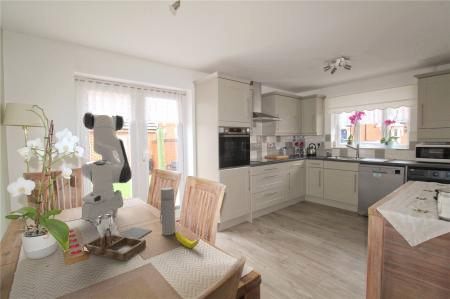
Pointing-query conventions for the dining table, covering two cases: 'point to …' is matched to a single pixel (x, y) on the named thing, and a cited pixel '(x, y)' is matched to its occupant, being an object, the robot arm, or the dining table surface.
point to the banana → (186, 241)
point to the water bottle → (167, 211)
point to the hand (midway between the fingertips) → (105, 222)
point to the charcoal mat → (135, 232)
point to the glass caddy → (110, 249)
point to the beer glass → (105, 230)
